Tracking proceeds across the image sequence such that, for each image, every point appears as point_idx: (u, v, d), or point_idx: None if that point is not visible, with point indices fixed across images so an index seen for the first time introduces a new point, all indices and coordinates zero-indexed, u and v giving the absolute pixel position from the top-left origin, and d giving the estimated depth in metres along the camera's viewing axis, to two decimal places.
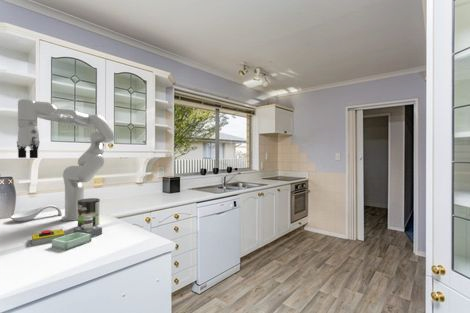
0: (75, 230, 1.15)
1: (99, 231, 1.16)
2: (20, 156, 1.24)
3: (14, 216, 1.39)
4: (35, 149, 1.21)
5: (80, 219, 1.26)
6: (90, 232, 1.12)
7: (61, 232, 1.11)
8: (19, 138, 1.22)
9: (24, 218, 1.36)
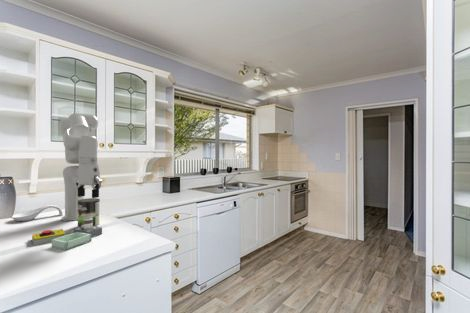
0: (75, 230, 1.15)
1: (99, 231, 1.16)
2: (80, 195, 1.17)
3: (15, 216, 1.40)
4: (97, 188, 1.14)
5: (80, 219, 1.26)
6: (90, 232, 1.12)
7: (62, 232, 1.11)
8: (80, 176, 1.15)
9: (24, 218, 1.37)
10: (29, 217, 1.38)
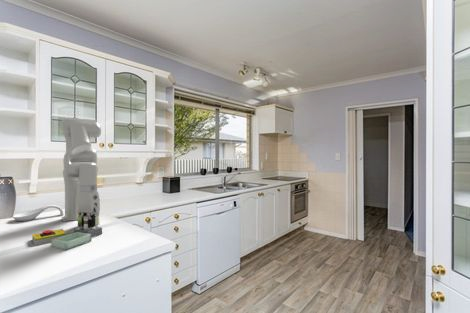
0: (75, 230, 1.15)
1: (99, 231, 1.16)
2: (83, 225, 1.16)
3: (17, 215, 1.41)
4: (93, 218, 1.15)
5: (80, 219, 1.26)
6: (90, 232, 1.12)
7: (62, 232, 1.12)
8: (79, 204, 1.15)
9: (25, 218, 1.37)
10: (30, 217, 1.39)
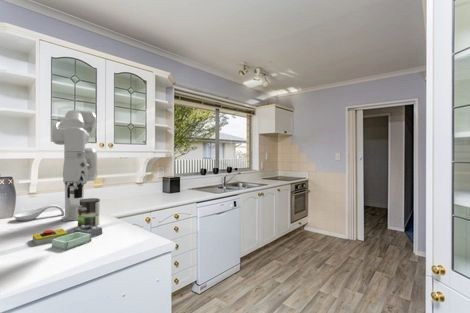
0: (75, 230, 1.15)
1: (99, 231, 1.16)
2: (69, 196, 1.05)
3: (18, 215, 1.42)
4: (80, 188, 1.04)
5: (80, 219, 1.26)
6: (90, 232, 1.12)
7: (63, 231, 1.12)
8: (65, 172, 1.04)
9: (26, 217, 1.38)
10: (30, 216, 1.39)
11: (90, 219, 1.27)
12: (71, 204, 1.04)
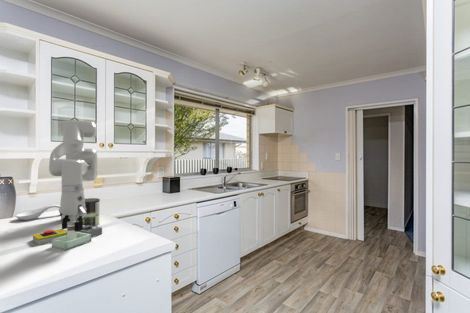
0: None
1: (99, 231, 1.16)
2: (64, 227, 1.05)
3: (20, 215, 1.43)
4: (80, 220, 1.02)
5: None
6: (90, 232, 1.12)
7: (63, 231, 1.12)
8: (62, 206, 1.03)
9: (27, 217, 1.39)
10: (32, 216, 1.40)
11: (90, 219, 1.27)
12: None
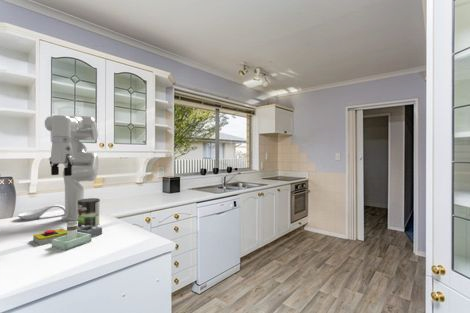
0: None
1: (99, 231, 1.16)
2: (53, 173, 1.20)
3: (23, 214, 1.45)
4: (69, 167, 1.17)
5: (80, 219, 1.26)
6: (90, 232, 1.12)
7: (64, 231, 1.13)
8: (53, 155, 1.18)
9: (28, 217, 1.40)
10: (33, 216, 1.41)
11: (90, 219, 1.27)
12: None
